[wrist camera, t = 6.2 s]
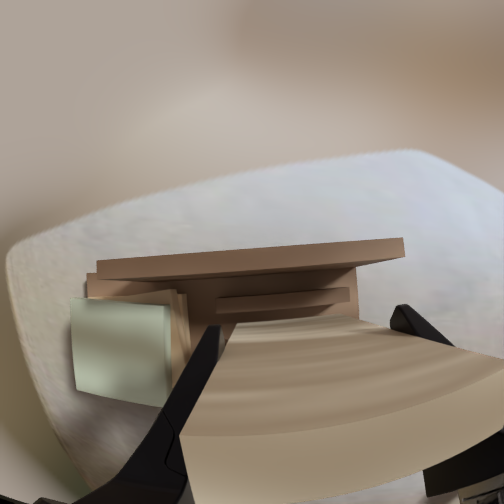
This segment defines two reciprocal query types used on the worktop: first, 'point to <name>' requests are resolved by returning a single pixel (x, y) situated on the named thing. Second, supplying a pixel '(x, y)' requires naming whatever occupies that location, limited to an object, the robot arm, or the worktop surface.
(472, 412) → the birch board
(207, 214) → the worktop surface
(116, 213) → the worktop surface
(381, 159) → the worktop surface
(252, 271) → the offcut rack
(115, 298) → the offcut stack
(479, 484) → the robot arm
